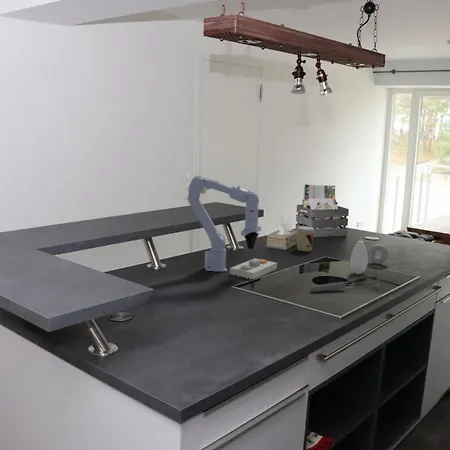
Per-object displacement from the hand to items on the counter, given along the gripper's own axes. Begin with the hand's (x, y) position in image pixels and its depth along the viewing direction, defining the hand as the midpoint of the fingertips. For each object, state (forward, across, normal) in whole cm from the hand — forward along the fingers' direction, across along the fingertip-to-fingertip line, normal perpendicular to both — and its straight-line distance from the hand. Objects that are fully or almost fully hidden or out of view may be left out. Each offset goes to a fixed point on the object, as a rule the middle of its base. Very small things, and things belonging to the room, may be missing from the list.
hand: (250, 248), depth 247 cm
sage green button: (+9, -7, -2) cm, 12 cm away
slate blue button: (+8, 0, -2) cm, 9 cm away
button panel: (+10, 0, -2) cm, 11 cm away
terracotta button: (+10, +7, -2) cm, 12 cm away
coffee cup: (+11, +56, -2) cm, 57 cm away
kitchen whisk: (+12, +1, -45) cm, 47 cm away
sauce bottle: (+12, +29, -41) cm, 51 cm away
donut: (+12, +53, -42) cm, 69 cm away
